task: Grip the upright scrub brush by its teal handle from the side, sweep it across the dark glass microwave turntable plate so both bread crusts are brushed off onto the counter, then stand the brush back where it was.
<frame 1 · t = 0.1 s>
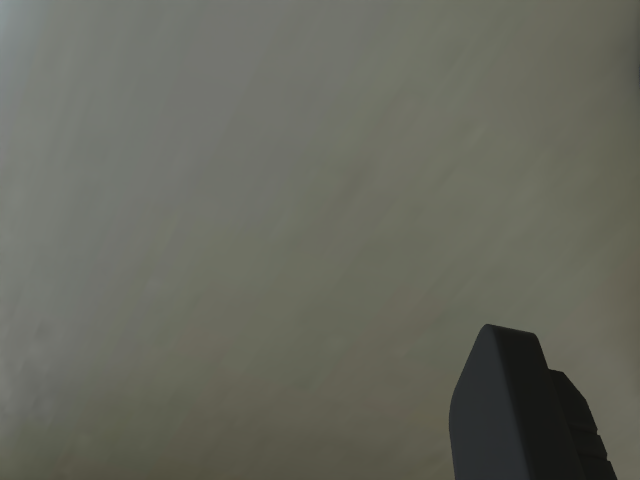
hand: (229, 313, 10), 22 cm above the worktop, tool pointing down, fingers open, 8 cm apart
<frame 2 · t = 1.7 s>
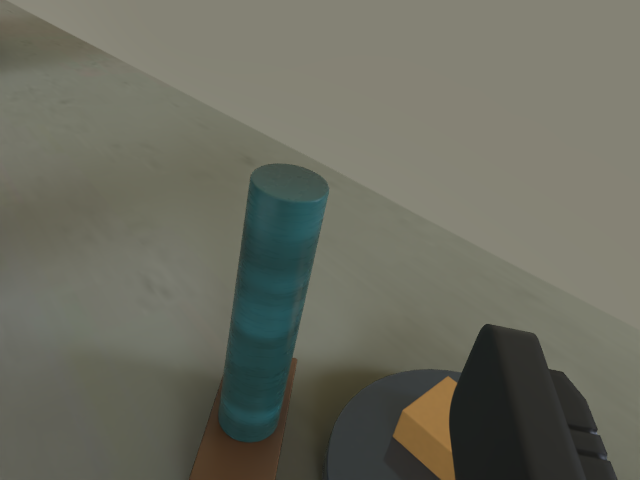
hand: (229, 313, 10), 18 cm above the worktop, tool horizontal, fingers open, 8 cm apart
brush: (242, 451, 29), on the worktop
crust a: (445, 443, 30), point 1 cm above the worktop, touching turntable plate
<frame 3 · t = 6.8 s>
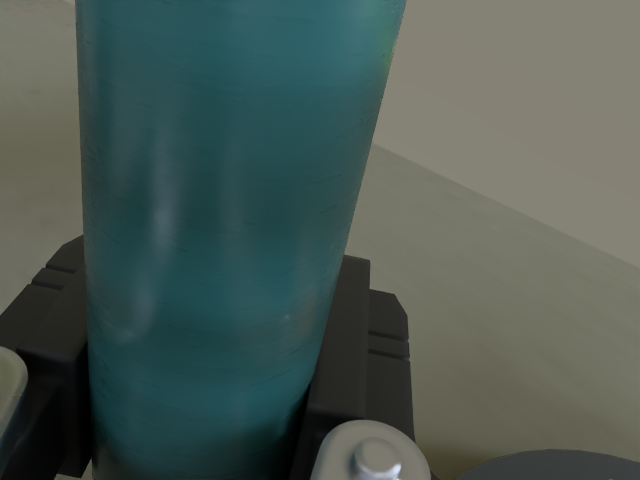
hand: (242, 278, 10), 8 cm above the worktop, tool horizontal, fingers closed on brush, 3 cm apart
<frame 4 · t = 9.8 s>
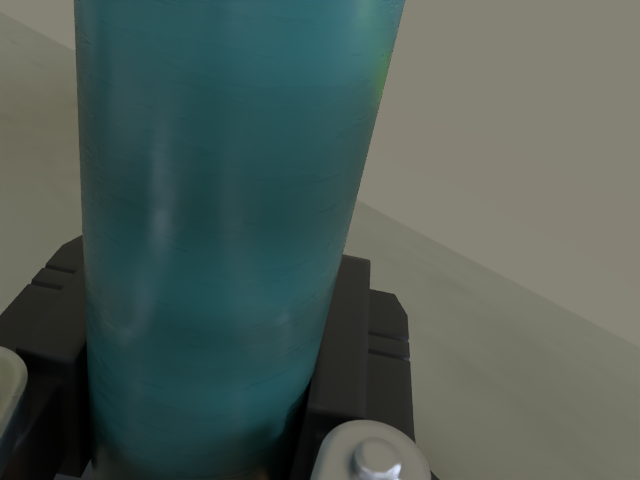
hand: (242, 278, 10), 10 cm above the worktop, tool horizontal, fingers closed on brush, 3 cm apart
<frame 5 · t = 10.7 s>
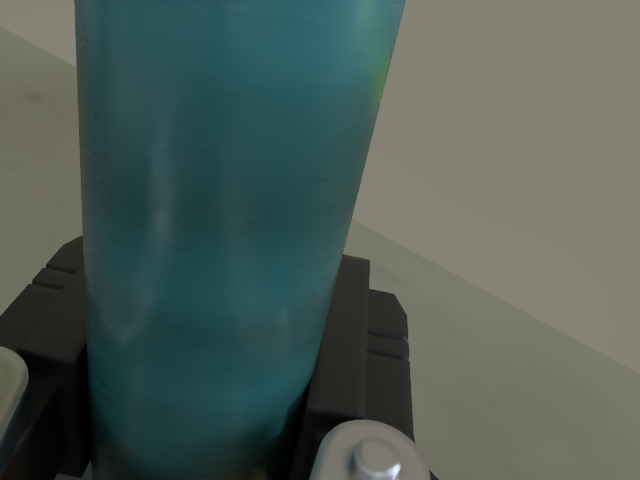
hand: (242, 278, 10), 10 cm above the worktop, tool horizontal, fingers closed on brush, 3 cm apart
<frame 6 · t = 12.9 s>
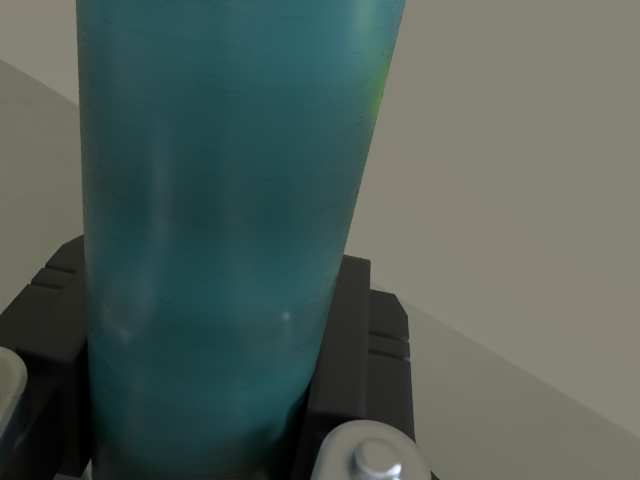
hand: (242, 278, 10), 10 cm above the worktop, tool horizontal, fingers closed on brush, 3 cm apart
when the fingers open (9 cm above the worktop, at t = 19.9 s): brush stays where it is, on the worktop.
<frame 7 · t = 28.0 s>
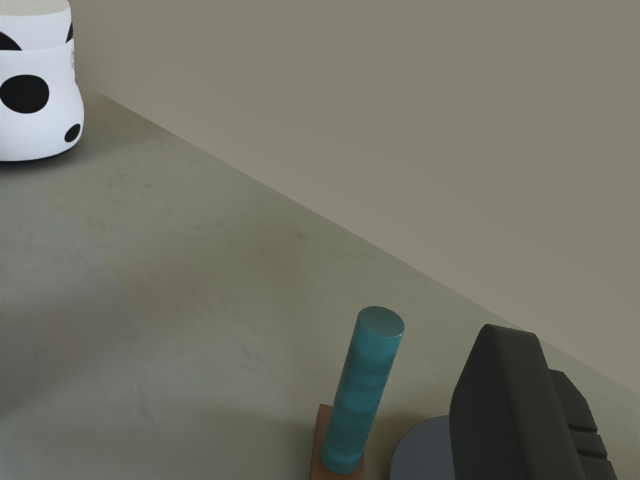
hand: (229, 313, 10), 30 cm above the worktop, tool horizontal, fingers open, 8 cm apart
brush: (332, 479, 42), on the worktop
milk container: (12, 146, 75), on the worktop
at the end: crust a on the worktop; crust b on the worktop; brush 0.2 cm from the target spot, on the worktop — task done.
